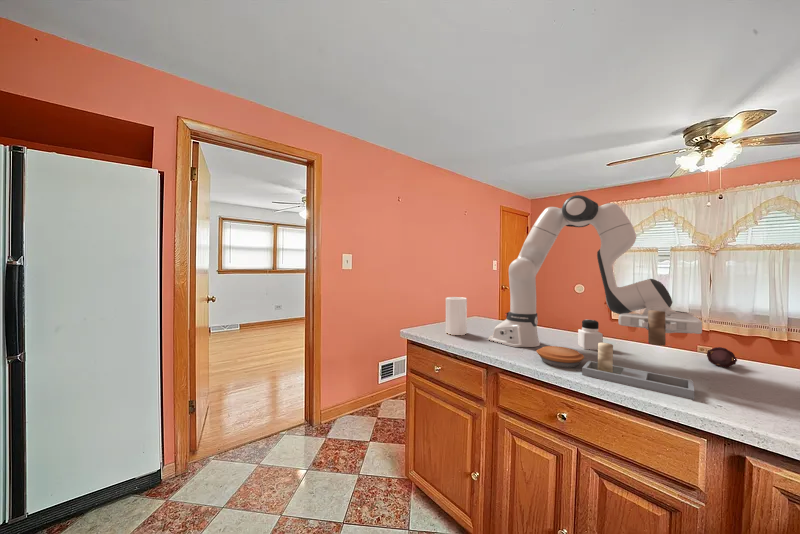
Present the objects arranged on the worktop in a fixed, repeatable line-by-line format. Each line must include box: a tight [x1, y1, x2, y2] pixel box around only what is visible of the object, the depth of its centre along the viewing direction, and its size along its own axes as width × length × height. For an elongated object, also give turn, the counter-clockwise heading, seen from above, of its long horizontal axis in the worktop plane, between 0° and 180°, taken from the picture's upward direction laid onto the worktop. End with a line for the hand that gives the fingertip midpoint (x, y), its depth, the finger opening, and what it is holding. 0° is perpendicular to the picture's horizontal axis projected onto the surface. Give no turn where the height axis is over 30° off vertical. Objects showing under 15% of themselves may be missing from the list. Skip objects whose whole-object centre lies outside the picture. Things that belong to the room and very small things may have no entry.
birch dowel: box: [597, 342, 614, 373], centre depth 97 cm, size 4×4×10 cm
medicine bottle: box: [577, 319, 604, 351], centre depth 130 cm, size 7×7×12 cm
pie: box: [536, 345, 585, 369], centre depth 110 cm, size 16×16×5 cm
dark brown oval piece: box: [706, 346, 738, 369], centre depth 106 cm, size 7×7×15 cm
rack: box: [581, 360, 695, 401], centre depth 92 cm, size 26×10×2 cm, turn 47°
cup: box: [445, 296, 468, 336], centre depth 156 cm, size 11×11×18 cm
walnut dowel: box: [647, 310, 667, 346], centre depth 92 cm, size 4×4×10 cm
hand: (656, 326), depth 91 cm, fingers closed on walnut dowel, 4 cm apart
